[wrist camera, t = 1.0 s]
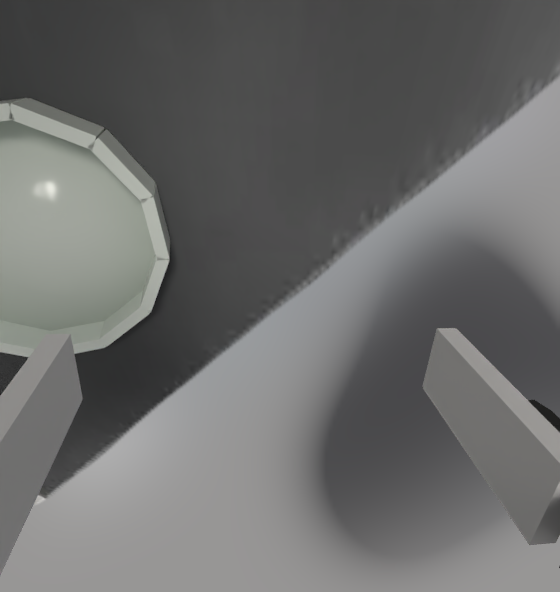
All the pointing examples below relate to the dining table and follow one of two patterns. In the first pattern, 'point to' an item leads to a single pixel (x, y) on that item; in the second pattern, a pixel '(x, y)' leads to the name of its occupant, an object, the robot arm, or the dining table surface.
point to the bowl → (73, 231)
